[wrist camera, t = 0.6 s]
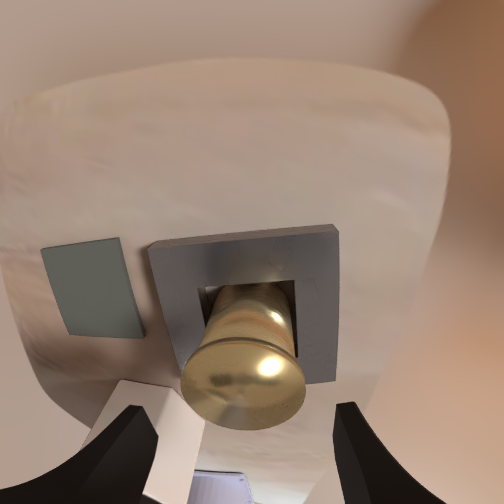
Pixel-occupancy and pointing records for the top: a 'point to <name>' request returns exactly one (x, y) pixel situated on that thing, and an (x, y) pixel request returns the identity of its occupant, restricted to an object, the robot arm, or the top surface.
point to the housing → (254, 271)
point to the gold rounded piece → (246, 361)
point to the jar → (160, 438)
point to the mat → (93, 289)
